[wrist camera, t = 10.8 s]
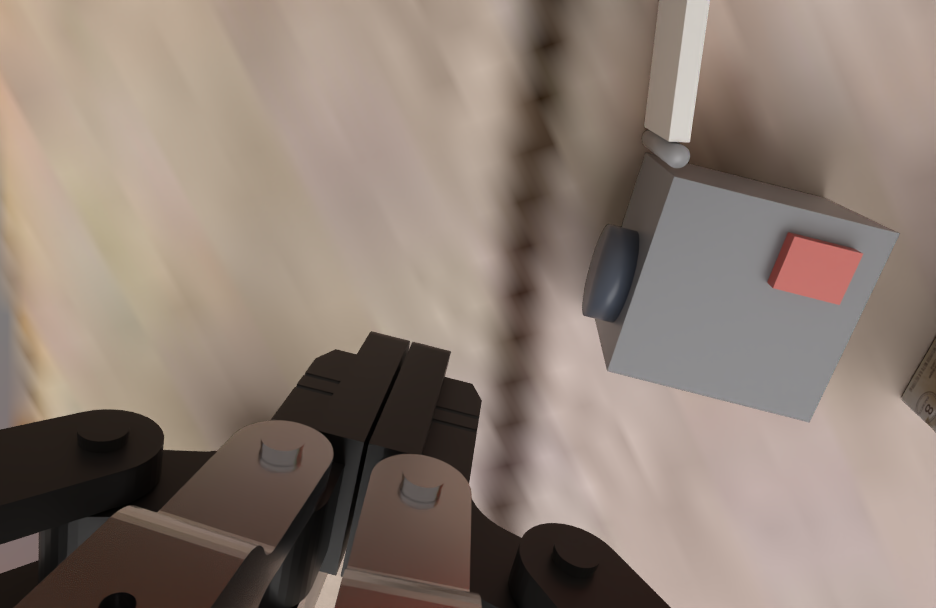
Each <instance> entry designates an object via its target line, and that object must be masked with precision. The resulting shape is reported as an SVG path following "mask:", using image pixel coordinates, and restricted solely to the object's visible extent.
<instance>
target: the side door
mask: <svg viewBox="0 0 936 608" xmlns="http://www.w3.org/2000/svg"><path fill="white" fill-rule="evenodd" d="M709 4H710V0H659V5H658V13H657V22H656V30H655V38H654V47H653V55H652V64H651V72H650V81H649V89H648V97H647V106H646V114H645V123H644V127H646V128H647V129H649V130H647V131H645V132H644V133H643V135H642V143H643V145H644V146H645V147H647V148H648V149H649V150H650V151H652V152H653V153H654V154H656V155H657V156H658V157H659V158H661V159H662V160H663V161H665V162H666V163H667V164H668V165H670V166H671V167H673V168H682V167H684V166H685V165H686V164H687V163H688V161H689V159H690V152H689V150H688V149H687V148H686V147H685V146H683V145H681V144H680V143H678V142H689V143H690V137H691V130H692V123H693V116H694V109H695V102H696V95H697V88H698V81H699V74H700V67H701V60H702V53H703V46H704V39H705V32H706V25H707V18H708V11H709Z"/></svg>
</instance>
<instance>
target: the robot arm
mask: <svg viewBox="0 0 936 608" xmlns="http://www.w3.org/2000/svg"><path fill="white" fill-rule="evenodd" d="M409 345H410V341H408V340H404V339H400V338H396V337H392V336H388V335H384V334H380V333H376V332H372V331H371V332H370V333H369V335H368V337H367V338H366V340H365V342H364V343H363V345H362V347H361V348H360V350H359V352H358V353H357V355H356V354H352V353H348V352H344V351H340V350H337V349H335V350H333V351H331V352H329V353H327V354H324V355H322V356H320V357H318V358H316V359H315V360H314V362H313V363H312V364H311V366H310V367H309V368H308V370H307V371H306V373H305V375H303V377H302V378H301V379H300V381H299V382H298V383H297V386H296V387H295V388H294V389H293V390H292V392H291V393H290V394H289V396H288V397H287V399H286V400H285V401H284V403H283V404H282V405H281V407H280V408H279V410H278V411H277V412H276V414H275V415H274V416H273V418H272V419H271V420H270V421H262V422H257V423H253V424H250V425H248V426H245V427H243V428H242V429H240V430H238V431H237V432H236V433H235V434H234V435H233V436H232V437H231V438H230V439H229V440H228V441H227V442H226V443H225V444H224V445H223V446H222V447H221V448H220V449H219V450H218V451H210V452H197V451H174V450H163V444H164V435H163V431H162V430H161V428H160V427H159V425H158V424H156V423H155V422H154V421H153V420H151V419H149V418H148V417H145V416H143V415H141V414H137V413H134V412H129V411H123V410H92V411H86V412H81V413H76V414H72V415H67V416H62V417H57V418H53V419H48V420H43V421H39V422H34V423H29V424H25V425H20V426H15V427H11V428H6V429H1V430H0V544H3V543H6V542H9V541H12V540H16V539H19V538H22V537H25V536H28V535H31V534H35V533H38V532H39V560H38V561H36V562H33V563H30V564H27V565H24V566H21V567H18V568H16V569H12V570H10V571H7V572H4V573H1V574H0V608H314V607H315V604H316V602H317V599H318V597H319V594H320V592H321V589H322V587H323V584H324V582H325V579H326V577H327V574H332V575H337V572H338V569H339V567H340V564H341V561H342V559H343V556H344V554H345V551H346V554H345V558H344V563H343V568H342V572H341V577H342V581H341V585H340V589H339V592H338V596H337V600H336V604H335V608H671V607H670V606H669V605H668V604H667V603H666V602H665V601H664V600H663V599H662V598H661V597H660V596H659V595H658V594H657V593H656V592H655V591H654V590H653V589H652V588H651V587H650V586H649V585H648V584H647V583H646V582H645V581H644V580H643V579H642V578H641V577H640V576H639V575H638V574H637V573H636V572H635V571H634V570H633V569H632V568H631V567H630V566H629V565H628V564H627V563H626V562H625V561H624V560H623V559H622V558H621V557H620V556H619V555H618V554H617V553H616V552H615V551H614V550H613V549H612V548H611V547H609V546H608V545H607V544H606V543H605V542H603V541H602V540H601V539H599V538H598V537H596V536H594V535H593V534H591V533H589V532H587V531H585V530H582V529H580V528H577V527H574V526H570V525H566V524H558V523H547V524H541V525H538V526H535V527H533V528H531V529H529V530H528V531H527V532H526V533H525V534H524V535H523V537H522V538H521V537H519V536H517V535H515V534H513V533H511V532H509V531H507V530H505V529H503V528H501V527H500V526H498V525H496V524H495V523H493V522H492V521H491V520H489V519H488V518H487V517H486V516H485V515H484V514H482V512H481V511H480V510H479V509H478V508H477V507H476V505H475V503H474V502H473V500H472V494H471V488H470V486H469V480H470V474H471V467H472V461H473V454H474V447H475V441H476V434H477V428H478V421H479V420H478V419H479V415H480V408H481V402H482V400H481V398H480V397H479V395H478V393H477V391H476V389H475V388H474V386H473V384H471V383H467V382H463V381H459V380H455V379H451V378H447V377H445V374H446V370H447V366H448V362H449V358H450V353H451V351H447V350H443V349H439V348H436V347H432V346H428V345H424V344H420V343H416V342H412V344H411V347H410V349H409ZM346 548H347V549H346Z"/></svg>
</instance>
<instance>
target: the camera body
mask: <svg viewBox="0 0 936 608" xmlns="http://www.w3.org/2000/svg"><path fill="white" fill-rule="evenodd" d="M899 234H900V233H898V232H896V231H894V230H891V229H889V228H887V227H885V226H883V225H881V224H879V223H877V222H875V221H873V220H870V219H868V218H866V217H864V216H862V215H860V214H858V213H856V212H854V211H852V210H849V209H847V208H845V207H843V206H841V205H839V204H837V203H835V202H833V201H830V200H828V199H826V198H823V197H819V196H816V195H812V194H808V193H804V192H800V191H796V190H792V189H788V188H784V187H780V186H776V185H772V184H768V183H764V182H760V181H756V180H752V179H748V178H744V177H740V176H736V175H732V174H728V173H724V172H720V171H716V170H712V169H709V168H705V167H701V166H697V165H693V164H689V163H687V164H686V165H685V166H684V167H682V168H673V167H671V166H670V165H668V164H667V163H666V162H665V161H663V160H662V159H661V158H659V157H658V156H657V155H653V154H649V153H645V156H644V159H643V162H642V165H641V168H640V171H639V174H638V177H637V180H636V184H635V187H634V190H633V193H632V196H631V199H630V202H629V205H628V208H627V211H626V214H625V217H624V220H623V224H622V227H618V226H615V225H611V224H608V225H607V226H606V227H605V228H604V230H603V232H602V233H601V236H600V238H599V240H598V243H597V245H596V248H595V251H594V254H593V257H592V260H591V263H590V267H589V271H588V275H587V279H586V284H585V289H584V295H583V303H582V312H583V315H584V316H587V317H591V318H595V321H596V325H597V330H598V334H599V338H600V342H601V347H602V351H603V355H604V359H605V364H606V368H607V371H609V372H613V373H617V374H621V375H625V376H628V377H632V378H636V379H640V380H644V381H648V382H652V383H656V384H660V385H664V386H668V387H672V388H676V389H680V390H684V391H687V392H691V393H695V394H699V395H703V396H707V397H711V398H715V399H719V400H723V401H727V402H731V403H735V404H739V405H743V406H746V407H750V408H754V409H758V410H762V411H766V412H770V413H774V414H778V415H782V416H786V417H790V418H794V419H798V420H802V421H805V422H810V420H811V418H812V416H813V414H814V412H815V410H816V408H817V406H818V404H819V401H820V399H821V397H822V395H823V393H824V391H825V389H826V387H827V385H828V383H829V381H830V378H831V376H832V374H833V372H834V370H835V368H836V366H837V364H838V362H839V360H840V358H841V356H842V353H843V351H844V349H845V347H846V345H847V343H848V341H849V339H850V337H851V335H852V333H853V330H854V328H855V326H856V324H857V322H858V320H859V318H860V316H861V314H862V312H863V310H864V307H865V305H866V303H867V301H868V299H869V297H870V295H871V293H872V291H873V289H874V287H875V285H876V282H877V280H878V278H879V276H880V274H881V272H882V270H883V268H884V266H885V264H886V262H887V259H888V257H889V255H890V253H891V251H892V249H893V247H894V245H895V243H896V241H897V239H898V236H899Z"/></svg>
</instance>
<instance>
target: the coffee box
mask: <svg viewBox="0 0 936 608" xmlns="http://www.w3.org/2000/svg"><path fill="white" fill-rule="evenodd" d="M902 401H903V402H904V403H905V404H906V405H908V406H909V407H910V408H911V409H912V410H913V411H914V412H915V413H916V414H917V415H918V416H919V417H921V419H922V420H924V421H925V422H926V423H927V424H928V425H929V426H930V427H931V428H932V429H933V430H934V431H935V432H936V338H935V340H934V342H933V344H932V345H931V347H930V349H929V350H928V352H927V354H926V355H925V357H924V359H923V361H922V363H921V364H920V366H919V368H918V369H917V371H916V373H915V374H914V376H913V378H912V380H911V382H910V383H909V385H908V387H907V389H906V390H905V392H904V394H903V396H902Z"/></svg>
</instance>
